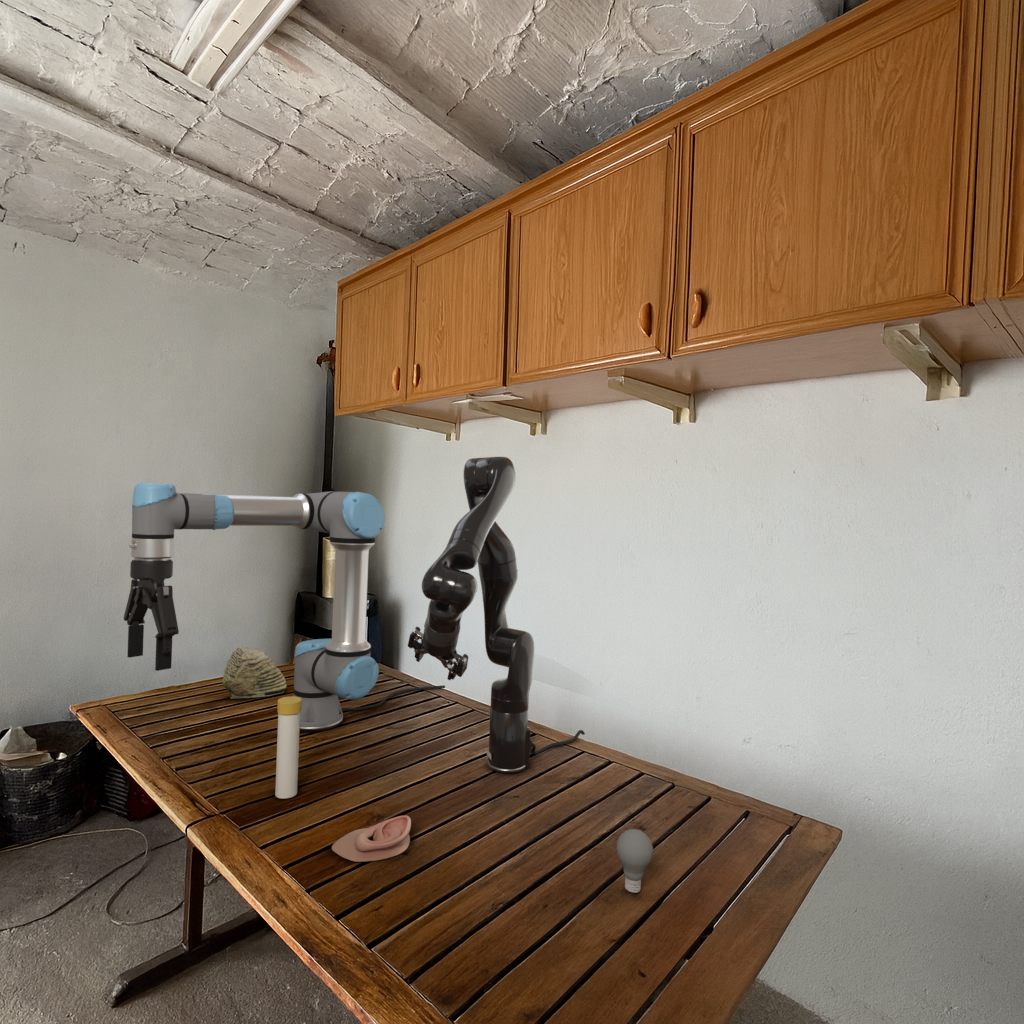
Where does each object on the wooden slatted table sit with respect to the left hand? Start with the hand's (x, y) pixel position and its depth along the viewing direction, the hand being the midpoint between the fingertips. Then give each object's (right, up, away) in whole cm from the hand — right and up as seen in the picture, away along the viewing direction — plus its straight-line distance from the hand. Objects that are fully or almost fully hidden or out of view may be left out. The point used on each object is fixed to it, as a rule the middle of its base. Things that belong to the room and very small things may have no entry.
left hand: (148, 662), depth 129 cm
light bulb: (+94, -33, -24) cm, 103 cm away
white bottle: (+26, -29, +5) cm, 40 cm away
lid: (+27, -9, +5) cm, 29 cm away
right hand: (+56, -5, +17) cm, 59 cm away
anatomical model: (+49, -30, -13) cm, 59 cm away
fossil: (-6, -27, +69) cm, 74 cm away
